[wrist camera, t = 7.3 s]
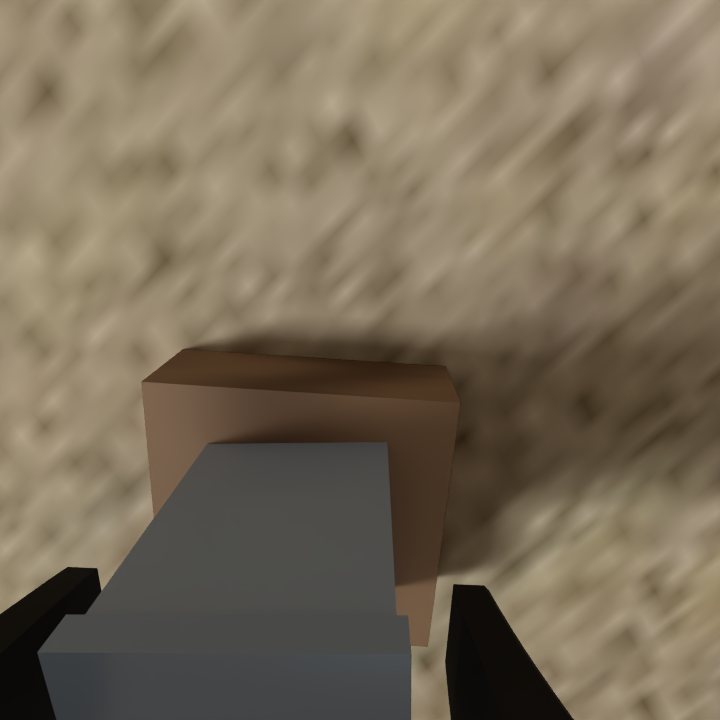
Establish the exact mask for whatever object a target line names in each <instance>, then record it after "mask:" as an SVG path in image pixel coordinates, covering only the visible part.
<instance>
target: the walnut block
mask: <svg viewBox="0 0 720 720" xmlns="http://www.w3.org/2000/svg"><path fill="white" fill-rule="evenodd" d="M141 383H142V393H143V404H144V415H145V426H146V437H147V448H148V458H149V469H150V480H151V491H152V502H153V513H154V517H155V516H156V515H157V513H158V512H159V510H160V509H161V508H162V506H163V505H164V503H165V502H166V501H167V499H168V498H169V496H170V495H171V494H172V492H173V491H174V489H175V488H176V487H177V485H178V484H179V482H180V481H181V480H182V478H183V477H184V475H185V474H186V473H187V471H188V470H189V468H190V467H191V466H192V464H193V463H194V461H195V460H196V459H197V457H198V456H199V454H200V453H201V452H202V450H203V449H204V447H205V446H206V445H207V444H246V443H343V442H387V445H388V464H389V483H390V502H391V521H392V539H393V558H394V577H395V596H396V615H408V619H409V632H410V644H411V646H424V647H428V642H429V634H430V627H431V619H432V612H433V605H434V597H435V590H436V582H437V575H438V567H439V560H440V552H441V545H442V538H443V530H444V523H445V515H446V508H447V500H448V493H449V485H450V478H451V471H452V463H453V456H454V448H455V441H456V433H457V426H458V419H459V411H460V404H461V403H460V400H459V398H458V395H457V393H456V390H455V388H454V385H453V383H452V380H451V378H450V376H449V373H448V371H447V368H446V366H432V365H417V364H401V363H386V362H371V361H355V360H340V359H325V358H310V357H294V356H279V355H264V354H248V353H233V352H218V351H203V350H187V349H183V350H181V351H180V352H179V353H177V354H176V355H175V356H174V357H172V358H171V359H170V360H169V361H167V362H166V363H165V364H163V365H162V366H161V367H160V368H158V369H157V370H156V371H155V372H153V373H152V374H151V375H150V376H148V377H147V378H146V379H144V380H143V381H142V382H141Z"/></svg>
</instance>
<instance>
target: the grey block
mask: <svg viewBox="0 0 720 720" xmlns="http://www.w3.org/2000/svg"><path fill="white" fill-rule="evenodd" d="M37 653H38V657H39V660H40V664H41V667H42V671H43V674H44V678H45V681H46V685H47V688H48V692H49V695H50V699H51V702H52V706H53V710H54V713H55V717H56V720H411V644H410V632H409V619H408V615H396V596H395V577H394V558H393V539H392V521H391V502H390V483H389V464H388V445H387V442H343V443H246V444H207V445H206V446H205V447H204V449H203V450H202V452H201V453H200V454H199V456H198V457H197V459H196V460H195V461H194V463H193V464H192V466H191V467H190V468H189V470H188V471H187V473H186V474H185V475H184V477H183V478H182V480H181V481H180V482H179V484H178V485H177V487H176V488H175V489H174V491H173V492H172V494H171V495H170V496H169V498H168V499H167V501H166V502H165V503H164V505H163V506H162V508H161V509H160V510H159V512H158V513H157V515H156V516H155V517H154V519H153V520H152V522H151V523H150V524H149V526H148V527H147V529H146V530H145V531H144V533H143V534H142V536H141V537H140V538H139V540H138V541H137V543H136V544H135V545H134V547H133V548H132V550H131V551H130V552H129V554H128V555H127V557H126V558H125V559H124V561H123V562H122V564H121V565H120V566H119V568H118V569H117V571H116V572H115V573H114V575H113V576H112V578H111V579H110V580H109V582H108V583H107V585H106V586H105V587H104V589H103V590H102V592H101V593H100V594H99V596H98V597H97V599H96V600H95V601H94V603H93V604H92V606H91V607H90V608H89V610H88V611H87V613H86V614H85V615H65V617H64V618H63V619H62V621H61V622H60V623H59V624H58V626H57V627H56V628H55V630H54V631H53V632H52V634H51V635H50V636H49V638H48V639H47V640H46V642H45V643H44V644H43V646H42V647H41V648H40V649H39V651H38V652H37Z"/></svg>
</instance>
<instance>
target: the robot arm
mask: <svg viewBox="0 0 720 720" xmlns="http://www.w3.org/2000/svg"><path fill="white" fill-rule="evenodd" d="M100 593H101V586H100V581H99V575H98V570H97V568H78V567H67V568H66V569H64V570H63V571H61V572H60V573H58V574H57V575H55V576H54V577H52V578H51V579H49V580H48V581H46V582H45V583H44V584H42V585H41V586H39V587H38V588H36V589H35V590H34V591H32V592H31V593H29V594H28V595H27V596H25V597H24V598H22V599H21V600H20V601H18V602H17V603H15V604H14V605H13V606H11V607H10V608H8V609H7V610H6V611H4V612H3V613H1V614H0V720H56V717H55V713H54V710H53V706H52V702H51V699H50V695H49V692H48V688H47V685H46V681H45V678H44V674H43V671H42V667H41V664H40V660H39V657H38V653H37V652H38V651H39V649H40V648H41V647H42V646H43V644H44V643H45V642H46V640H47V639H48V638H49V636H50V635H51V634H52V632H53V631H54V630H55V628H56V627H57V626H58V624H59V623H60V622H61V621H62V619H63V618H64V617H65V615H85V614H86V613H87V611H88V610H89V608H90V607H91V606H92V604H93V603H94V601H95V600H96V599H97V597H98V596H99V594H100ZM445 664H446V675H447V685H448V696H449V705H450V715H451V720H574V719H573V718H572V717H571V715H570V714H569V712H568V711H567V710H566V708H565V707H564V706H563V704H562V703H561V701H560V700H559V699H558V697H557V696H556V694H555V693H554V692H553V690H552V689H551V687H550V686H549V684H548V683H547V681H546V680H545V679H544V677H543V676H542V674H541V673H540V671H539V670H538V668H537V667H536V666H535V664H534V663H533V661H532V660H531V658H530V657H529V655H528V654H527V652H526V651H525V649H524V647H523V646H522V644H521V643H520V641H519V640H518V638H517V636H516V635H515V633H514V632H513V630H512V629H511V627H510V625H509V624H508V622H507V620H506V619H505V617H504V616H503V614H502V612H501V611H500V609H499V607H498V605H497V604H496V602H495V600H494V599H493V597H492V595H491V593H490V591H489V590H488V589H487V588H486V587H485V586H480V585H458V584H453V594H452V603H451V612H450V622H449V631H448V641H447V650H446V660H445Z"/></svg>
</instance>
